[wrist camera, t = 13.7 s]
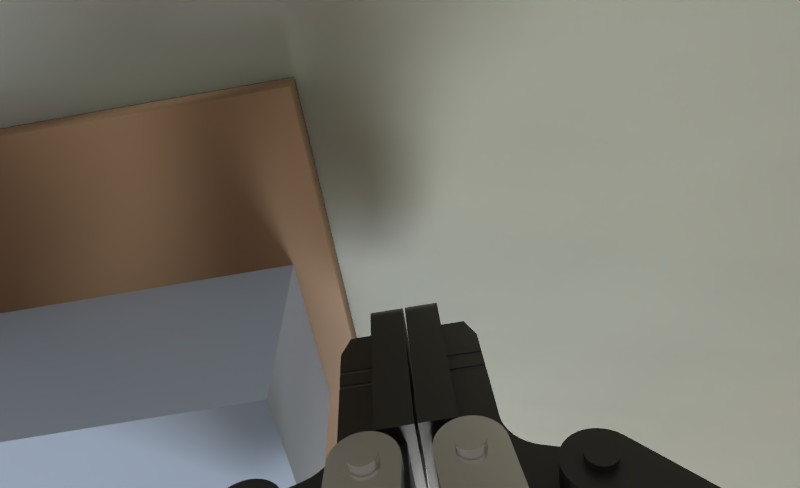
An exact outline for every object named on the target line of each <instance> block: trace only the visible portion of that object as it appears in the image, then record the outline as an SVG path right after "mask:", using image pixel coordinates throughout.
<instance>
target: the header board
mask: <svg viewBox="0 0 800 488" xmlns="http://www.w3.org/2000/svg"><path fill="white" fill-rule="evenodd" d="M288 265H294V268H295V272H296V276H297V279H298V283H299V286H300V290H301V293H302V297H303V300H304V304H305V307H306V311H307V314H308V318H309V322H310V325H311V329H312V332H313V336H314V339H315V343H316V346H317V350H318V353H319V357H320V360H321V364H322V368H323V371H324V375H325V378H326V382H327V385H328V389H329V392H330V400H329V414H328V429H327V444H326V458H327V456H328V454H329V452H330V451H331V450H332V448H333V447H334V446H335V445H336V444H337V432H338V409H339V390H340V376H341V375H340V364H341V355H342V353H343V351H344V350H345V348H346V346H347V345H348V343H349V341H350V340H351V339H355V338H356V333H355V329H354V325H353V321H352V317H351V313H350V309H349V304H348V300H347V296H346V292H345V288H344V284H343V280H342V275H341V271H340V267H339V263H338V259H337V255H336V251H335V247H334V242H333V238H332V234H331V230H330V226H329V222H328V218H327V213H326V209H325V205H324V201H323V197H322V193H321V189H320V184H319V180H318V176H317V172H316V168H315V164H314V160H313V155H312V151H311V147H310V143H309V139H308V135H307V131H306V126H305V122H304V118H303V114H302V110H301V106H300V102H299V97H298V93H297V89H296V85H295V81H294V77H293V78H287V79H281V80H276V81H270V82H264V83H258V84H253V85H247V86H241V87H236V88H230V89H224V90H218V91H213V92H207V93H201V94H196V95H190V96H184V97H179V98H173V99H167V100H161V101H156V102H150V103H144V104H139V105H133V106H127V107H122V108H116V109H110V110H104V111H99V112H93V113H87V114H82V115H76V116H70V117H65V118H59V119H53V120H47V121H42V122H36V123H30V124H25V125H19V126H13V127H8V128H2V129H0V313H6V312H12V311H18V310H24V309H30V308H36V307H42V306H48V305H54V304H60V303H66V302H72V301H78V300H84V299H90V298H96V297H102V296H108V295H114V294H120V293H126V292H132V291H138V290H144V289H150V288H156V287H162V286H168V285H174V284H180V283H186V282H192V281H198V280H204V279H210V278H216V277H222V276H228V275H234V274H240V273H246V272H252V271H258V270H264V269H270V268H276V267H282V266H288ZM325 462H326V459H325Z"/></svg>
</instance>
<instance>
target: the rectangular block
mask: <svg viewBox="0 0 800 488" xmlns="http://www.w3.org/2000/svg"><path fill="white" fill-rule="evenodd" d="M329 400H330V392H329V389H328V385H327V382H326V378H325V375H324V371H323V368H322V364H321V360H320V357H319V353H318V350H317V346H316V343H315V339H314V336H313V332H312V329H311V325H310V322H309V318H308V314H307V311H306V307H305V304H304V300H303V297H302V293H301V290H300V286H299V283H298V279H297V276H296V272H295V268H294V265H288V266H282V267H276V268H270V269H264V270H258V271H252V272H246V273H240V274H234V275H228V276H222V277H216V278H210V279H204V280H198V281H192V282H186V283H180V284H174V285H168V286H162V287H156V288H150V289H144V290H138V291H132V292H126V293H120V294H114V295H108V296H102V297H96V298H90V299H84V300H78V301H72V302H66V303H60V304H54V305H48V306H42V307H36V308H30V309H24V310H18V311H12V312H6V313H0V488H228V487H230V486H232V485H233V484H235V483H238V482H240V481H244V480H248V479H265V480H269V481H271V482H273V483H274V484H276V485H277V486H278V487H279V488H289V487H291V486H293V485H296V484H298V483H300V482H303V481H305V480H307V479H309V478H311V477H312V476H314V475H315V474H317V473H318V472H319V471H320V470H321V469H323V468H324V467H325V459H326V444H327V429H328V414H329Z"/></svg>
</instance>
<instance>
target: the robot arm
mask: <svg viewBox="0 0 800 488" xmlns="http://www.w3.org/2000/svg"><path fill="white" fill-rule="evenodd" d="M405 313H406V322H407V329H406V324H405V318H404V313H403V309H396V310H389V311H383V312H377V313H371V336H368V337H362V338H355V339H351V340H350V341H349V343H348V345H347V346H346V348H345V350H344V351H343V353H342V355H341V364H340V375H341V376H340V390H339V409H338V432H337V444H336V445H335V446H334V447H333V448H332V450H331V451H330V452H329V454H328V456H327V458H326V462H325V467H324V468H323V469H321V470H320V471H319V472H318V473H317V474H315V475H314V476H312V477H311V478H309V479H307V480H305V481H303V482H300V483H298V484H296V485H293V486H291V487H289V488H428V483H427V474H428V480H429V485H430V488H720V487H718V486H717V485H715V484H713V483H711V482H709V481H707V480H706V479H704V478H702V477H700V476H698V475H696V474H694V473H693V472H691V471H689V470H687V469H685V468H683V467H682V466H680V465H678V464H676V463H674V462H672V461H671V460H669V459H667V458H665V457H663V456H661V455H660V454H658V453H656V452H654V451H652V450H650V449H649V448H647V447H645V446H643V445H641V444H639V443H638V442H636V441H634V440H632V439H630V438H628V437H627V436H625V435H623V434H620V433H618V432H615V431H612V430H608V429H601V428H591V429H585V430H581V431H578V432H576V433H574V434H572V435H570V436H569V437H568V438H567V439H566V440H565V441H564V442H563V443H562V445H561V447H557V446H548V445H540V444H535V443H531V442H527V441H525V440H522V439H520V438H518V437H517V436H515V435H513V434H512V433H511V432H510V431H509V430H508V429H507V428H506V427H505V426H504V424H503V423H502V421H501V419H500V416H499V413H498V409H497V406H496V402H495V399H494V395H493V391H492V388H491V384H490V380H489V377H488V373H487V370H486V367H485V362H484V359H483V355H482V352H481V348H480V344H479V341H478V337H477V334H476V333H475V332H474V331H473V330H472V329H471V328H470V327H469V326H468V325H467V324H466V323H465V322H464V321H463V322H456V323H450V324H444V325H441V323H440V318H439V313H438V308H437V303H433V304H427V305H420V306H414V307H408V308H405ZM407 331H408V335H407ZM408 339H409V340H408ZM425 464H426V466H425ZM426 469H427V474H426ZM228 488H279V487H278V486H277V485H276V484H274V483H273V482H271V481H269V480H265V479H248V480H244V481H240V482H238V483H235V484H233V485H232V486H230V487H228Z"/></svg>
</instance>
